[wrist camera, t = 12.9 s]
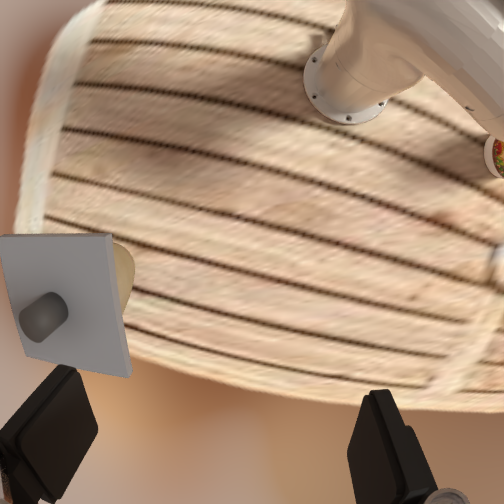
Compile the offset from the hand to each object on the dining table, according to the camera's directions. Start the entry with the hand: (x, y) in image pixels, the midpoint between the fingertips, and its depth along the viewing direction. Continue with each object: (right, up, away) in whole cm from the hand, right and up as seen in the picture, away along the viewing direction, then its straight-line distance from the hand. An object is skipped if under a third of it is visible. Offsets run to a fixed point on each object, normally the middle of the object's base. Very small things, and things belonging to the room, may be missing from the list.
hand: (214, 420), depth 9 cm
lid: (-22, -1, +25) cm, 33 cm away
